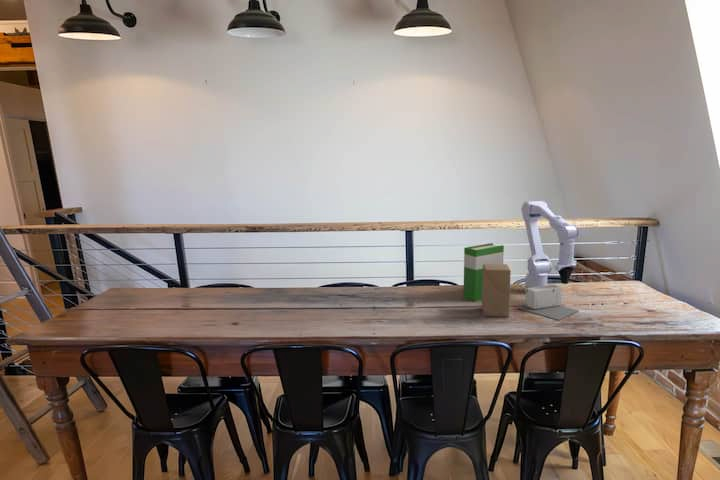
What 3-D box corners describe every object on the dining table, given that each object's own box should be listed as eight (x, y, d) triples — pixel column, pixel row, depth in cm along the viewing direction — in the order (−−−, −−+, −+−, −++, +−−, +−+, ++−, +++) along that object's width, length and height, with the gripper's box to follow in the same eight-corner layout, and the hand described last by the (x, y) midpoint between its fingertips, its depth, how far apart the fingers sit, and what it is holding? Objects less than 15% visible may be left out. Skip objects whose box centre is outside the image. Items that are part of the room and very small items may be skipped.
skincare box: (562, 305, 188) (534, 310, 183) (551, 301, 194) (524, 307, 189) (562, 286, 187) (534, 291, 182) (552, 283, 192) (524, 288, 187)
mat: (518, 309, 187) (518, 308, 186) (539, 300, 196) (539, 300, 196) (558, 320, 172) (558, 319, 172) (578, 311, 182) (579, 310, 182)
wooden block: (509, 317, 177) (510, 270, 174) (483, 316, 179) (485, 269, 176) (505, 308, 187) (507, 264, 183) (481, 308, 189) (482, 263, 185)
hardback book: (490, 290, 212) (491, 243, 208) (502, 294, 206) (503, 245, 202) (463, 297, 204) (464, 247, 199) (474, 301, 197) (476, 250, 193)
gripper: (566, 257, 179) (564, 288, 182) (584, 252, 188) (581, 282, 191) (550, 254, 185) (549, 285, 188) (568, 249, 194) (566, 278, 196)
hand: (564, 283), depth 189 cm, fingers closed
